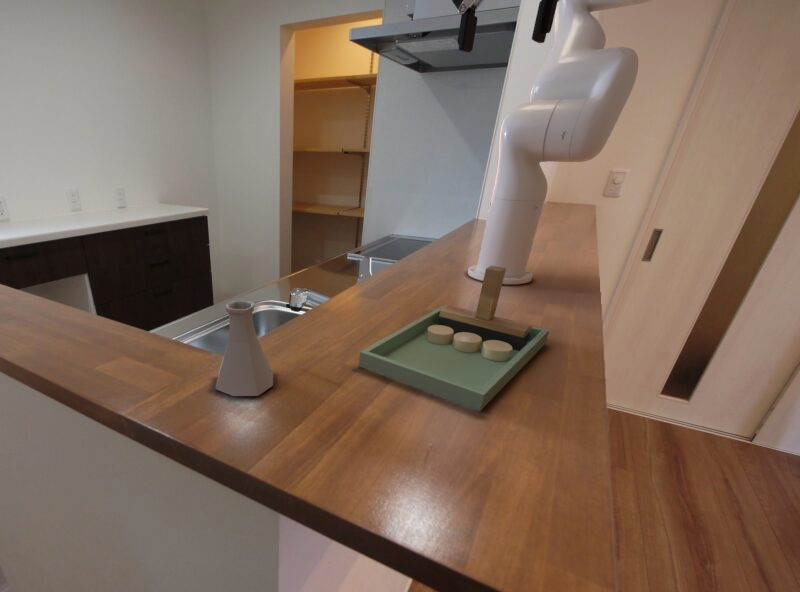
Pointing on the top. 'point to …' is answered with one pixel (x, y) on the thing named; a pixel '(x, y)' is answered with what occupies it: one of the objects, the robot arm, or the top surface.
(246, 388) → the flask
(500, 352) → the crumb
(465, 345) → the crumb
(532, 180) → the robot arm
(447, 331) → the crumb
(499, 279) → the brush
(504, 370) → the tray
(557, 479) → the top surface
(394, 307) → the top surface
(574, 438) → the top surface
